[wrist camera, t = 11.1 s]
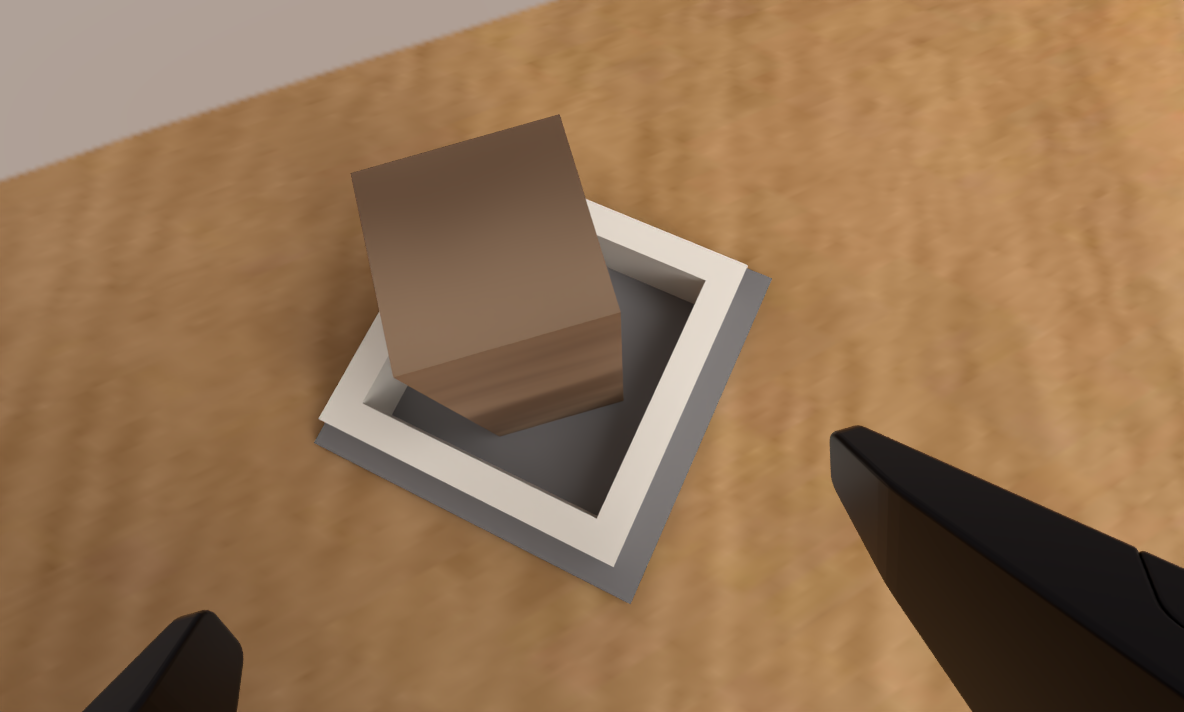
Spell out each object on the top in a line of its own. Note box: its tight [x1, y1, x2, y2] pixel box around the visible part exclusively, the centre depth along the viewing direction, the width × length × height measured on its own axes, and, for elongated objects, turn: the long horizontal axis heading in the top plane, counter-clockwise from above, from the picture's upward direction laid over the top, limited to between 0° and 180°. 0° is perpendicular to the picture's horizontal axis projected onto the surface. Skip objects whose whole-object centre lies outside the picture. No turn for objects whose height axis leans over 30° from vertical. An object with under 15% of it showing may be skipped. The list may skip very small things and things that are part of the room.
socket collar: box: [314, 199, 772, 604], centre depth 21 cm, size 12×12×3 cm
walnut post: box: [351, 114, 624, 437], centre depth 17 cm, size 4×4×10 cm
